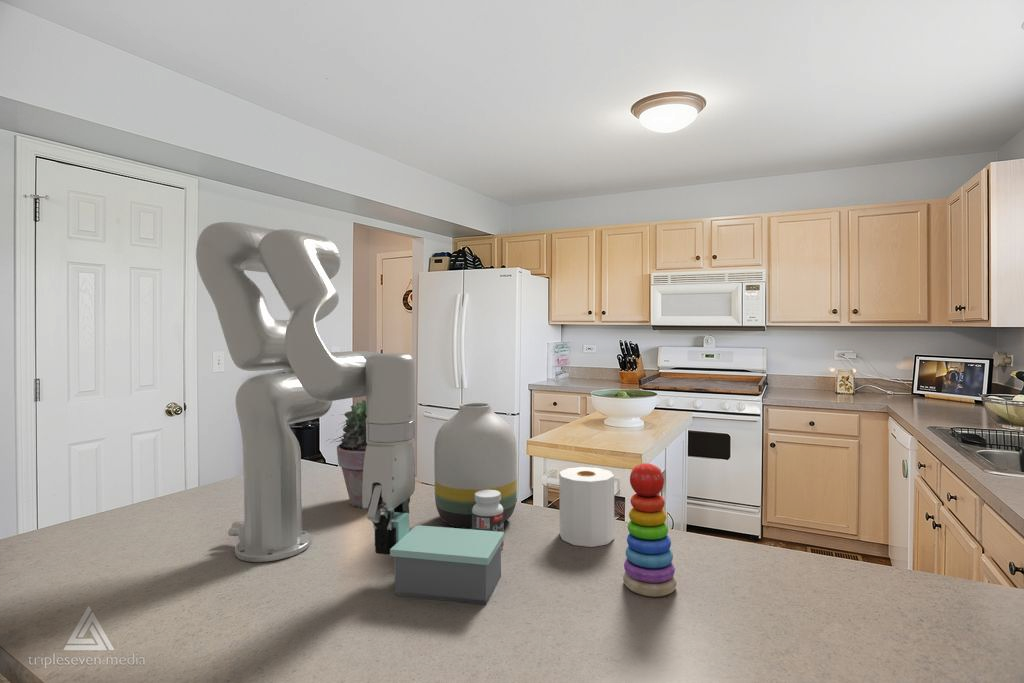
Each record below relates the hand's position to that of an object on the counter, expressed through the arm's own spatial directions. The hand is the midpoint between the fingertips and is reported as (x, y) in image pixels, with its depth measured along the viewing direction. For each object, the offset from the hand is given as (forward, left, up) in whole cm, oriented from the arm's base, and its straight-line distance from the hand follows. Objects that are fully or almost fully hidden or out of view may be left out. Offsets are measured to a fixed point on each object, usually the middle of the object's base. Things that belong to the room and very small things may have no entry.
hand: (392, 546), depth 84 cm
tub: (+10, 0, -5) cm, 11 cm away
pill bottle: (+12, +15, -6) cm, 20 cm away
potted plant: (-22, +35, -5) cm, 42 cm away
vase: (+6, +28, -6) cm, 29 cm away
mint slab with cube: (+8, 0, +1) cm, 8 cm away
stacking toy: (+40, +6, -6) cm, 40 cm away
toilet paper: (+29, +24, -6) cm, 38 cm away
